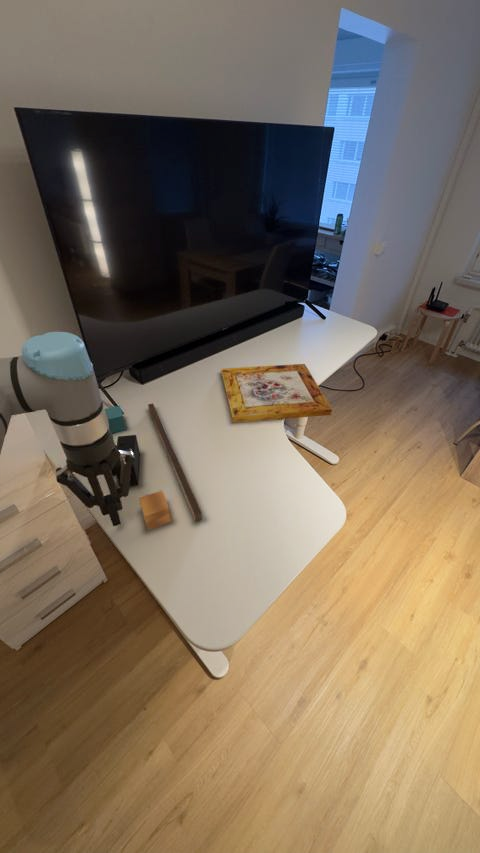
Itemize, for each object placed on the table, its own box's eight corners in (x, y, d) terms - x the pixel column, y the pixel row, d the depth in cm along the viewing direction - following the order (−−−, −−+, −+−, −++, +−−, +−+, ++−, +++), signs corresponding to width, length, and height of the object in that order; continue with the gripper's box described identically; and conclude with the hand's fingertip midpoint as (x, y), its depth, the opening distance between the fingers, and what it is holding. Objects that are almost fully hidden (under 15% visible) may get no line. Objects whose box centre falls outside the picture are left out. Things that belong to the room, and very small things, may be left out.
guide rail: (195, 522, 73) (194, 515, 71) (149, 411, 102) (147, 404, 100) (202, 519, 74) (201, 512, 72) (154, 410, 102) (153, 403, 101)
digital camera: (118, 456, 87) (112, 436, 83) (140, 454, 88) (135, 434, 83) (114, 488, 79) (107, 467, 75) (138, 485, 80) (133, 464, 76)
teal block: (107, 434, 93) (103, 420, 90) (105, 423, 97) (101, 409, 94) (126, 429, 95) (123, 415, 92) (123, 419, 98) (119, 405, 95)
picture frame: (332, 409, 102) (232, 417, 97) (330, 415, 103) (232, 422, 99) (304, 363, 122) (221, 368, 118) (303, 369, 123) (221, 373, 119)
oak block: (147, 530, 71) (144, 516, 68) (142, 512, 74) (138, 497, 71) (171, 522, 73) (168, 508, 70) (164, 504, 76) (162, 490, 73)
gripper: (122, 408, 58) (144, 496, 73) (38, 427, 54) (79, 516, 69) (131, 435, 53) (152, 523, 68) (38, 459, 49) (83, 547, 64)
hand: (116, 520), depth 69 cm, fingers closed
